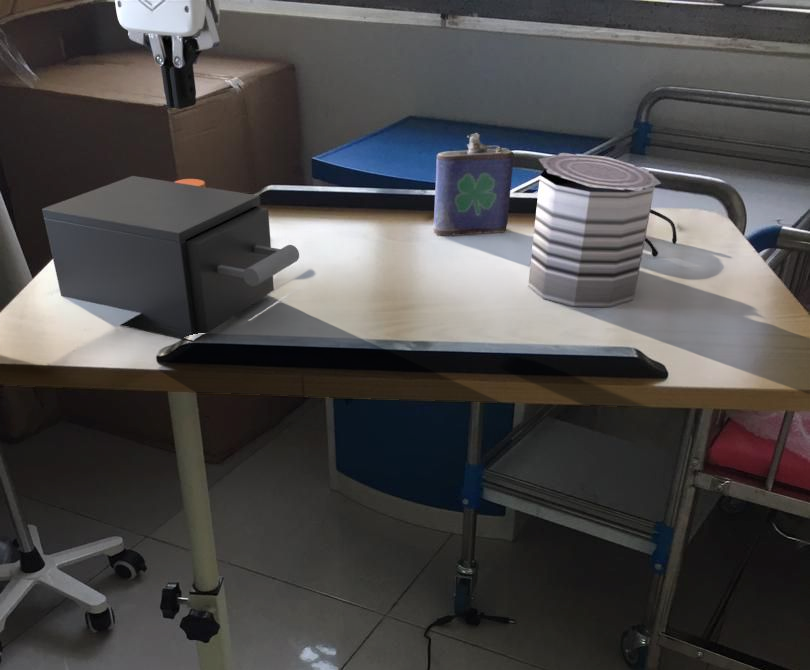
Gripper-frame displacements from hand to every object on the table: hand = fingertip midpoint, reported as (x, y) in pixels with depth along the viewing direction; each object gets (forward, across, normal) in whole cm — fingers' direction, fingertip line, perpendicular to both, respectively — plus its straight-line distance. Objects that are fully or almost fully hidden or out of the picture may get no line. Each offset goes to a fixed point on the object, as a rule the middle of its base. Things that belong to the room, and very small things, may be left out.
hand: (181, 105), depth 97 cm
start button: (+10, 0, 0) cm, 10 cm away
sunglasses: (+14, +46, +20) cm, 52 cm away
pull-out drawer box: (+12, +15, -20) cm, 28 cm away
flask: (+14, +29, +15) cm, 35 cm away
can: (+14, +46, +3) cm, 48 cm away
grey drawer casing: (+13, +11, -20) cm, 27 cm away
